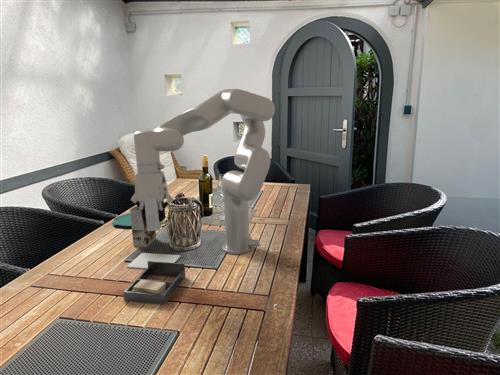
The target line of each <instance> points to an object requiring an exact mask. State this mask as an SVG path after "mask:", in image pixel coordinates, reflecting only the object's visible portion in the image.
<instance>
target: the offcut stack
mask: <svg viewBox="0 0 500 375" xmlns="http://www.w3.org/2000/svg"><path fill="white" fill-rule="evenodd" d="M149 280H150V279H146V280H140V281H139V282H138V283H137V284H136V285H135V286H134V287H133V290H132V292H142V293H154V294H164V293H165V292H166V288H165V287H166V283H165V282H157V281H149Z"/></svg>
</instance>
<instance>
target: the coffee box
mask: <svg viewBox="0 0 500 375" xmlns="http://www.w3.org/2000/svg"><path fill="white" fill-rule="evenodd" d="M129 211H130V212H129V213H131V225H132V227H131V233H132V234H131V235H132V244H133V247H141V248H142V247H143V248H147V247H149V246H150V245H151V244H152V243H153V242H154V241H156V240H157V231H147V223H146V221H143V218H142V214H141V210H140V209H139V207H138V206H137V205H134V206H133V207H132V208H130V209H129Z"/></svg>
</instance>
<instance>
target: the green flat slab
mask: <svg viewBox="0 0 500 375" xmlns="http://www.w3.org/2000/svg"><path fill="white" fill-rule="evenodd" d="M111 225H112V226H113V227H115V226H118V227H121V228H122V227H123V228H132V225H131V213H130V212H128V213H123V214H121V215H119V216H117V217H115V218H114V219H113V220H112V221H111ZM166 225H167V222H166V220H165V221H162V225H161V228H162V227H166Z"/></svg>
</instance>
